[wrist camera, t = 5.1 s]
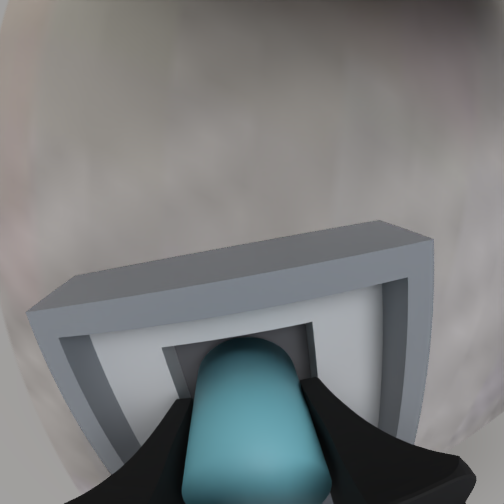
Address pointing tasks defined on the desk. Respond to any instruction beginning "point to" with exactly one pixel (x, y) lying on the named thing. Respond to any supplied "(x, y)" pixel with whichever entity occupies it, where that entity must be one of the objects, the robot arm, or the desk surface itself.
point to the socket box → (245, 328)
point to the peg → (252, 431)
